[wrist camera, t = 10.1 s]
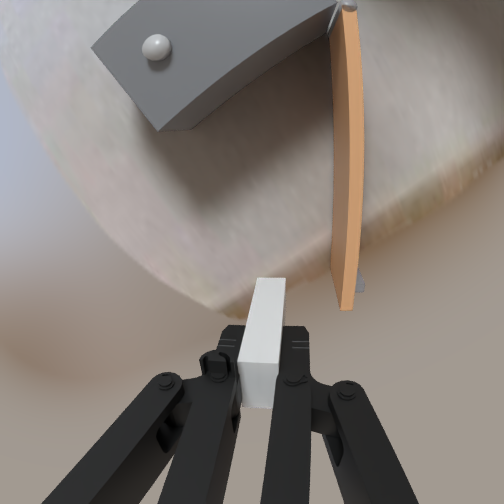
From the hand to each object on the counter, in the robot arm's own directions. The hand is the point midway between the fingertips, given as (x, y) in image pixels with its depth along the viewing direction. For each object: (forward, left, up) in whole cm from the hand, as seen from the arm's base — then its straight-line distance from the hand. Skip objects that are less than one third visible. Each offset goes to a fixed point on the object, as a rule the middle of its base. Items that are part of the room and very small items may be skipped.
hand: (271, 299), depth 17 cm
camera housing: (-7, -17, -15) cm, 24 cm away
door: (-9, -2, -14) cm, 17 cm away
